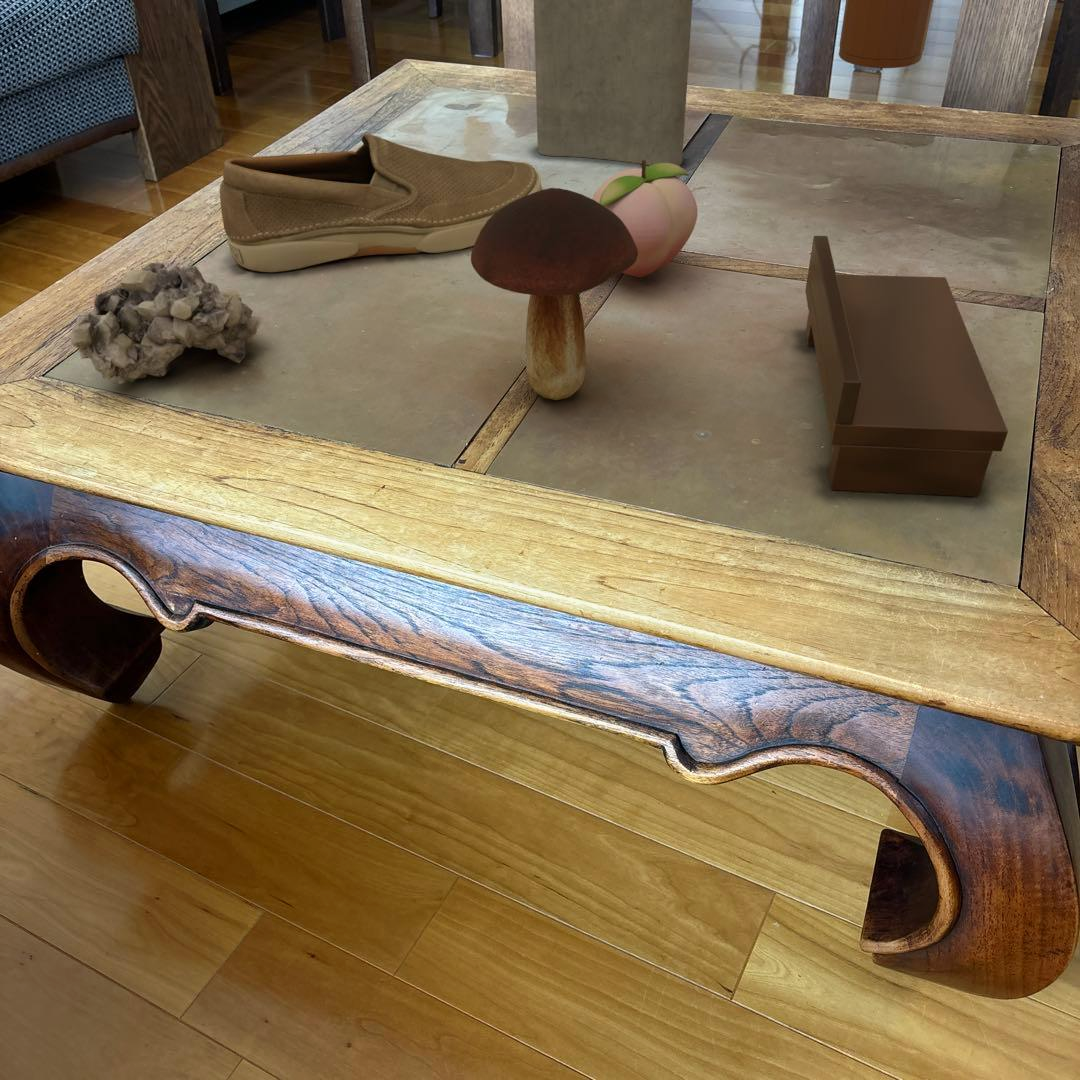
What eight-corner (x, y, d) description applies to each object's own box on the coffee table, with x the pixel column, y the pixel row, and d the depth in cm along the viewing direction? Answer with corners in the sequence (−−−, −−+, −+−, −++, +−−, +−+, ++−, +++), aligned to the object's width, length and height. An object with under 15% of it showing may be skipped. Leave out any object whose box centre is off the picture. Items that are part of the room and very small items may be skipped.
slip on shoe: (528, 190, 102) (524, 97, 97) (561, 235, 94) (559, 137, 88) (228, 233, 97) (205, 137, 91) (235, 285, 88) (211, 183, 83)
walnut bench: (930, 336, 79) (955, 238, 74) (986, 497, 64) (1022, 388, 59) (798, 332, 80) (813, 235, 75) (822, 489, 65) (844, 381, 60)
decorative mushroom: (531, 455, 68) (523, 242, 59) (453, 382, 76) (435, 182, 66) (662, 404, 73) (675, 198, 63) (577, 340, 80) (576, 146, 70)
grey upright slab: (533, 154, 110) (527, -58, 97) (546, 141, 113) (541, -66, 100) (677, 169, 106) (691, -50, 93) (687, 155, 109) (701, -59, 96)
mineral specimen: (59, 373, 71) (97, 233, 69) (74, 353, 79) (108, 227, 77) (235, 426, 75) (276, 296, 73) (232, 402, 84) (268, 284, 82)
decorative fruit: (634, 244, 93) (638, 131, 86) (708, 270, 88) (717, 154, 82) (564, 280, 88) (562, 163, 81) (638, 310, 83) (642, 189, 77)
